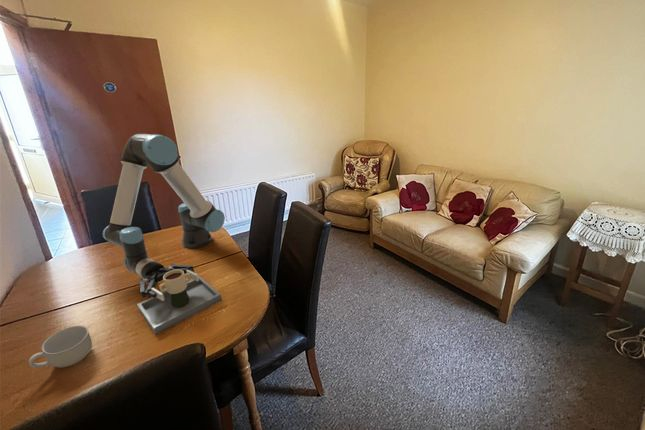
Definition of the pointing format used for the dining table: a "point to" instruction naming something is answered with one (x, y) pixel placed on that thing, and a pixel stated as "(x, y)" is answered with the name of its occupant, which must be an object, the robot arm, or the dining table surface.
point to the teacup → (64, 347)
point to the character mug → (176, 287)
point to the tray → (167, 316)
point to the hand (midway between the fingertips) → (181, 287)
